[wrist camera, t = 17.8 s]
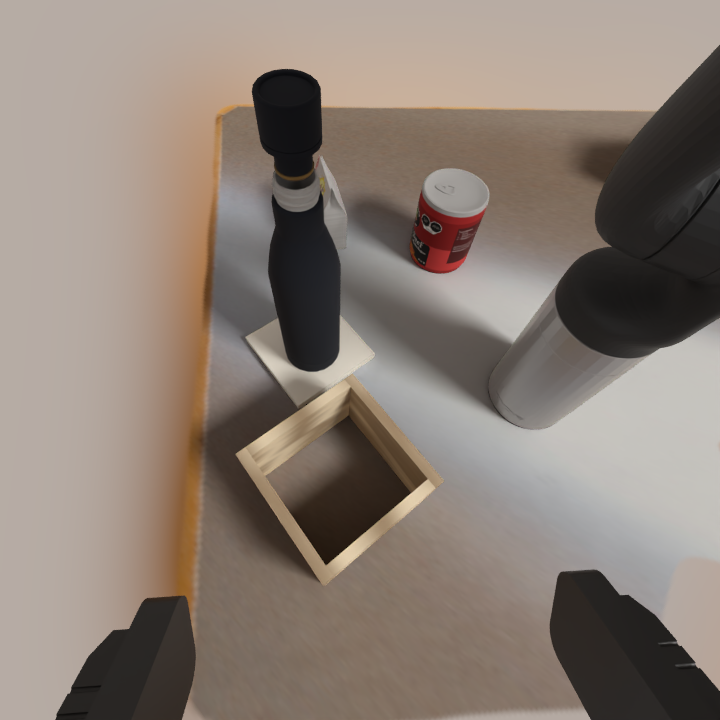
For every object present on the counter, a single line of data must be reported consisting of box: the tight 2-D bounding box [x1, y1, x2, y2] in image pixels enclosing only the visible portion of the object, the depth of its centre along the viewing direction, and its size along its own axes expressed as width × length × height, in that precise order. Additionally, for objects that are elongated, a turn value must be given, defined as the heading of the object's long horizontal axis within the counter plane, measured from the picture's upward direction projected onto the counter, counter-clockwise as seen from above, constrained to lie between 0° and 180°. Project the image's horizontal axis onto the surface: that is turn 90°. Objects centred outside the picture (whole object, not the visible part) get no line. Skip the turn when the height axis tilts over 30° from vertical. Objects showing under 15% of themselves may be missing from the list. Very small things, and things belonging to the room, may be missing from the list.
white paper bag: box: [315, 155, 347, 250], centre depth 56 cm, size 4×7×10 cm, turn 15°
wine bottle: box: [252, 69, 341, 372], centre depth 37 cm, size 6×6×30 cm
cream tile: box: [245, 315, 375, 409], centre depth 51 cm, size 11×11×1 cm
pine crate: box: [236, 374, 444, 586], centre depth 41 cm, size 13×13×8 cm
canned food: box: [410, 168, 489, 273], centre depth 55 cm, size 8×8×11 cm
